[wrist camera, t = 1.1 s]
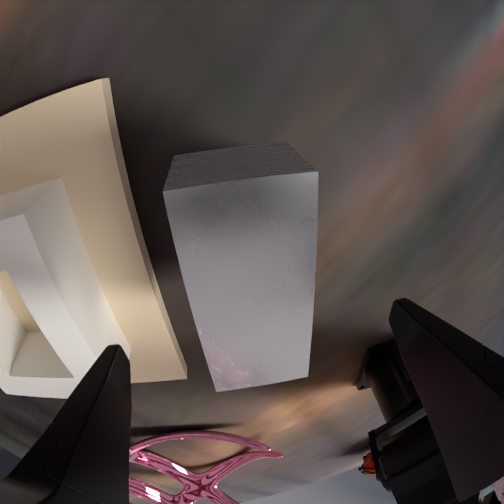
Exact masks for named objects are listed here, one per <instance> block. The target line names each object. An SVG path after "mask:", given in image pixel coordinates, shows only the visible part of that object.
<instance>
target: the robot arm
mask: <svg viewBox="0 0 504 504" xmlns="http://www.w3.org/2000/svg"><path fill="white" fill-rule="evenodd" d="M389 323H390V326H391V329H392V332H393V334H394V337H395V340H396V341H392V342H389V343H385V344H382V345H378V346H375V347H372V348H370V349H369V350H368V351H367V353H366V357H365V360H364V363H363V367H362V370H361V373H360V376H359V379H358V382H357V385H356V387H357V389H358V390H363V389H367V388H370V387H371V389H372V391H373V393H374V395H375V398H376V400H377V402H378V404H379V407H380V409H381V411H382V414H383V416H384V418H385V421H386V424H384V425H382V426H380V427H379V428H377V429H375V430H374V429H373V430H372V431H370V432H368V435H369V439H370V440H369V444H370V448H371V453H372V458H373V462H374V467H375V472H376V479H377V481H379V482H381V483H382V485H383V486H384V488H385V489H386V490H387V491H389V492H392V493H393V495H394V497H395V499H396V502H397V504H504V357H502V356H501V355H499V354H497V353H496V352H494V351H492V350H491V349H489V348H488V347H486V346H483V345H482V344H481V343H479V342H478V341H476V340H475V339H473V338H471V337H470V336H468V335H467V334H465V333H463V332H462V331H460V330H459V329H457V328H455V327H454V326H452V325H450V324H449V323H447V322H445V321H444V320H442V319H440V318H439V317H437V316H435V315H434V314H432V313H430V312H429V311H427V310H425V309H424V308H422V307H420V306H419V305H417V304H415V303H414V302H412V301H410V300H409V299H407V298H400V299H396V300H395V301H394V302H393V305H392V308H391V312H390V316H389ZM131 409H132V403H131V371H130V361H129V359H128V357H127V355H126V354H125V352H124V350H123V348H122V346H121V345H119V344H113V345H108V346H107V347H106V348H105V349H104V351H103V352H102V353H101V355H100V356H99V357H98V358H97V360H96V361H95V362H94V364H93V365H92V366H91V368H90V369H89V370H88V372H87V373H86V374H85V376H84V377H83V378H82V380H81V381H80V382H79V384H78V385H77V386H76V388H75V389H74V390H73V392H72V393H71V394H70V396H69V397H68V398H67V400H66V401H65V403H64V404H63V405H62V407H61V408H60V410H59V411H58V412H57V414H56V415H55V417H54V418H53V419H52V422H50V423H49V425H48V426H47V428H46V429H45V431H44V432H43V433H42V435H41V436H40V437H39V439H38V440H37V441H36V443H35V444H34V445H33V446H32V447H31V449H30V450H29V451H28V452H27V454H26V455H25V456H24V457H23V458H22V459H21V461H20V462H19V463H18V464H17V465H16V467H15V468H14V469H13V470H12V471H11V472H10V473H9V474H8V475H7V476H6V477H5V478H3V479H1V480H0V504H129V451H130V427H131ZM491 484H492V486H493V488H494V490H493V491H492V492H491V493H489V494H488V495H486V496H485V497H484V496H483V494H482V491H483V489H485V488H486V487H488V486H490V485H491Z"/></svg>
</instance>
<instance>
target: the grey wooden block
mask: <svg viewBox="0 0 504 504" xmlns="http://www.w3.org/2000/svg"><path fill="white" fill-rule="evenodd" d="M163 196H164V201H165V205H166V210H167V214H168V219H169V223H170V228H171V232H172V236H173V241H174V245H175V249H176V253H177V257H178V261H179V265H180V269H181V273H182V277H183V281H184V284H185V288H186V292H187V296H188V299H189V303H190V307H191V310H192V314H193V317H194V321H195V324H196V328H197V331H198V335H199V338H200V341H201V345H202V348H203V351H204V355H205V358H206V361H207V364H208V367H209V371H210V374H211V377H212V380H213V383H214V386H215V389H216V392H221V391H228V390H235V389H242V388H249V387H255V386H261V385H267V384H273V383H279V382H284V381H289V380H294V379H299V378H304V377H308V371H309V360H310V349H311V337H312V324H313V309H314V293H315V274H316V252H317V219H318V171H317V170H316V169H315V168H314V167H313V166H312V165H311V164H310V163H309V162H308V161H306V160H305V159H304V158H303V157H302V156H301V155H300V154H299V153H298V152H297V151H296V150H295V149H294V148H292V147H291V146H290V145H289V144H288V143H287V142H275V143H265V144H255V145H246V146H237V147H229V148H222V149H214V150H207V151H200V152H194V153H187V154H181V155H175V156H174V157H173V160H172V164H171V167H170V170H169V173H168V176H167V179H166V182H165V185H164V189H163Z"/></svg>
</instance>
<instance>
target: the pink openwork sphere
mask: <svg viewBox="0 0 504 504" xmlns="http://www.w3.org/2000/svg"><path fill="white" fill-rule="evenodd" d="M187 438H204V439H216V440H223V441H228V442H233V443H237V444H241V445H245V446H248V447H251V448H254V449H257V450H260V451H252V452H247V453H243V454H240V455H237V456H234V457H232V458H229V459H227V460H225V461H223V462H221V463H219V464H217V465H216V466H214V467H212V468H211V469H209V470H207V471H206V472H203V473H194V472H192V471H190V470H188V469H186V468H184V467H183V466H181V465H179V464H177V463H175V462H173V461H171V460H169V459H167V458H165V457H162V456H160V455H157V454H154V453H151V452H148V451H144V450H141V449H143V448H146V447H148V446H151V445H154V444H157V443H161V442H165V441H170V440H176V439H187ZM282 457H283V454H282V453H280V452H277V451H270V448H269V447H268V446H267V445H265V444H264V443H261V442H259V441H256V440H253V439H250V438H247V437H243V436H240V435H235V434H231V433H225V432H218V431H208V430H185V431H175V432H168V433H163V434H159V435H155V436H152V437H149V438H146V439H143V440H141V441H138V442H136V443H134V444H132V445H130V451H129V462H132V463H137V464H141V465H144V466H147V467H150V468H153V469H155V470H157V471H160V472H162V473H164V474H166V475H168V476H170V477H172V478H174V479H176V480H177V481H179V482H180V483H182V485H183V487H184V488H183V490H182V492H180V493H179V494H177V495H171V494H168V493H166V492H164V491H162V490H160V489H158V488H156V487H154V486H151V485H149V484H147V483H144V482H142V481H139V480H136V479H133V478H129V494H132V495H135V496H138V497H140V498H143V499H145V500H148V501H150V502H152V503H154V504H194V503H195V502H196V501H197V500H198V499H207V500H209V501H211V502H212V503H214V504H239V503H238V502H236V501H235V500H233V499H232V498H231V497H229V496H228V495H226V494H225V493H224V492H222V491H221V490H220V489H219V488H218V486H217V484H218V482H219V481H220V480H221V479H222V478H224V477H225V476H227V475H228V474H230V473H231V472H233V471H234V470H236V469H238V468H240V467H241V466H243V465H245V464H248V463H250V462H252V461H255V460H259V459H263V458H276V459H279V458H282Z"/></svg>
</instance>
